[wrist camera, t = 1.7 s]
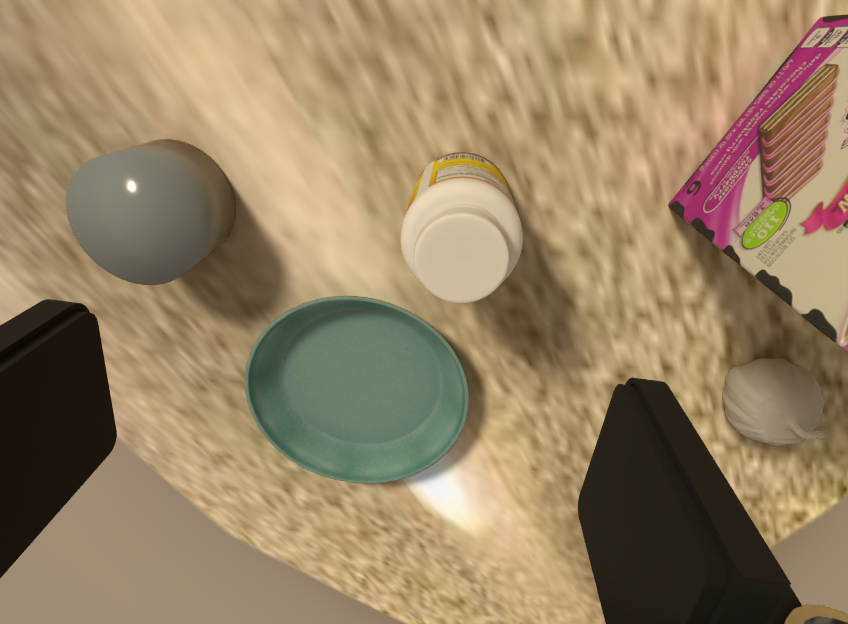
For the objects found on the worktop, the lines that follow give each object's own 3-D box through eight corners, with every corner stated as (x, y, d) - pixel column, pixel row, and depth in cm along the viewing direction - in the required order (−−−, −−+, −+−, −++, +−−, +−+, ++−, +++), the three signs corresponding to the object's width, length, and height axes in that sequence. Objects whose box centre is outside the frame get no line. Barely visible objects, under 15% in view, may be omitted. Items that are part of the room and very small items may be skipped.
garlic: (819, 381, 35) (874, 432, 30) (747, 430, 37) (788, 485, 32) (762, 327, 33) (810, 371, 29) (690, 380, 35) (725, 431, 31)
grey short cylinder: (229, 142, 31) (188, 157, 26) (242, 257, 34) (208, 288, 29) (110, 136, 31) (50, 150, 26) (134, 250, 34) (84, 281, 30)
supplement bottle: (448, 261, 33) (443, 343, 24) (394, 186, 31) (366, 244, 22) (528, 210, 31) (555, 277, 22) (475, 128, 29) (481, 164, 20)
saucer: (308, 476, 42) (299, 502, 39) (221, 313, 36) (204, 331, 33) (492, 436, 39) (494, 461, 36) (430, 252, 33) (427, 267, 31)
